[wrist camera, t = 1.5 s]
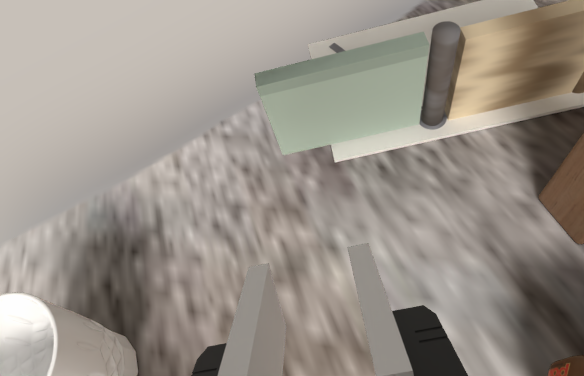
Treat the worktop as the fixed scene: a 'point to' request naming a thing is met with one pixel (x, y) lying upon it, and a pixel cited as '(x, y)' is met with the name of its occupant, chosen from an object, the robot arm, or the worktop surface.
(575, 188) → the wooden block
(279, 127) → the hinged fence section
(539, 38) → the fixed fence section
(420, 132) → the card
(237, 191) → the worktop surface
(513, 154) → the worktop surface
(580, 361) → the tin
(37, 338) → the white cup
